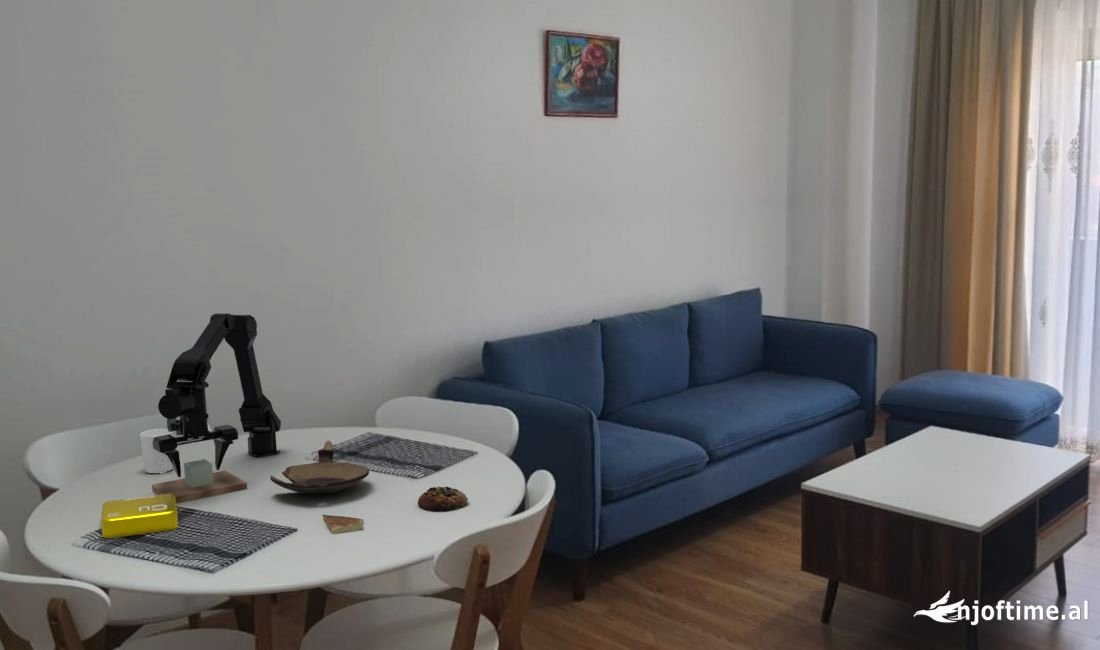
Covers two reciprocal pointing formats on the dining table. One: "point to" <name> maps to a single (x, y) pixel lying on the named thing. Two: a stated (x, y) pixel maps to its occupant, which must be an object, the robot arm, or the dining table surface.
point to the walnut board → (184, 492)
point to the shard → (342, 523)
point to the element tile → (139, 515)
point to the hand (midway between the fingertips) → (198, 473)
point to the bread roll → (442, 499)
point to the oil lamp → (322, 474)
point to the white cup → (154, 452)
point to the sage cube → (198, 473)
